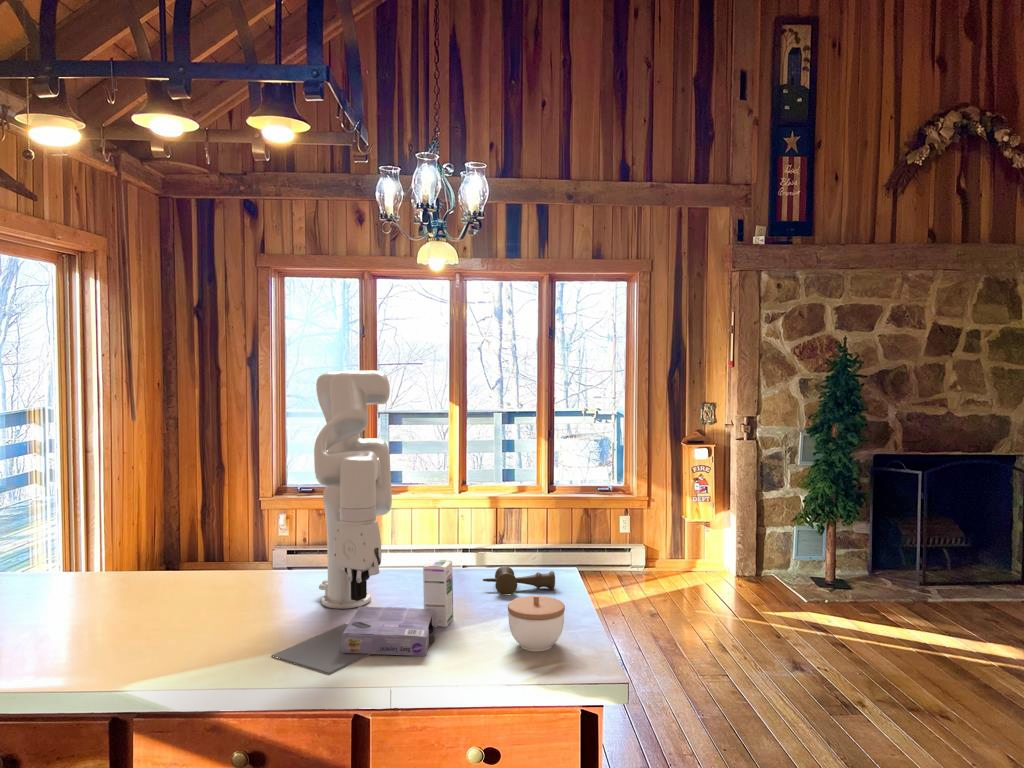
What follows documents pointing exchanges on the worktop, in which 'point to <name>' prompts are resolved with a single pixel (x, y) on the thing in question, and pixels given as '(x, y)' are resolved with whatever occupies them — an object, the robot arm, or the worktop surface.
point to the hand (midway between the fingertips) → (358, 598)
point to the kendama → (520, 580)
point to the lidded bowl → (536, 621)
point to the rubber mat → (321, 652)
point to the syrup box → (439, 590)
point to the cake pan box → (389, 631)
